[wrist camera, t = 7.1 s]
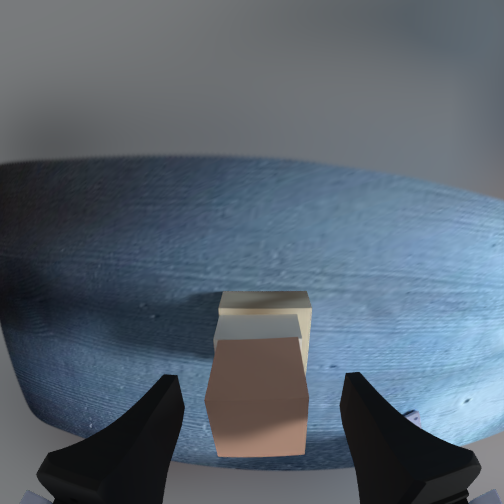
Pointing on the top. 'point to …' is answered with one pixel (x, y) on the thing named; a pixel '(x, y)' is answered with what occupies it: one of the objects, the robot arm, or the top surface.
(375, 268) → the top surface
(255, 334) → the tower top slab
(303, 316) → the tower base slab
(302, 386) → the terracotta block
